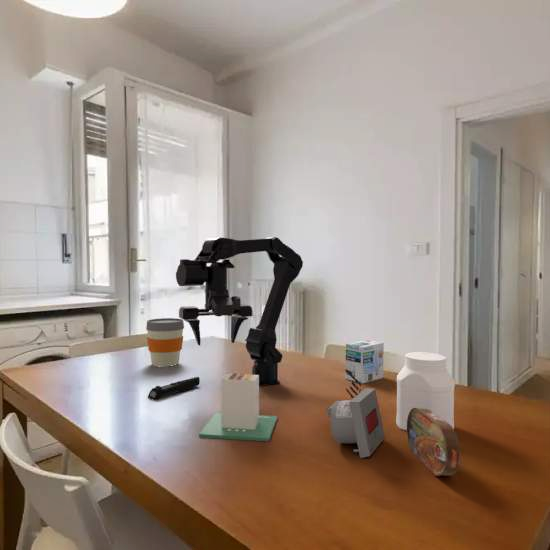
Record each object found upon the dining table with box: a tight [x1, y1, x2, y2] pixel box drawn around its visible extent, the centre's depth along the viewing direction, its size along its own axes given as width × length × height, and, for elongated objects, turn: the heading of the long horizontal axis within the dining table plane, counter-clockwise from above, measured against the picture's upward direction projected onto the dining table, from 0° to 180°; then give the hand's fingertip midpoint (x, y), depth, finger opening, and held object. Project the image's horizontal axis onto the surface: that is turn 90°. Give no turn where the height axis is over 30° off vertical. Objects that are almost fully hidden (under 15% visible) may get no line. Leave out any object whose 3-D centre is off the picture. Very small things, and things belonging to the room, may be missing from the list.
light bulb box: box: [345, 339, 385, 385], centre depth 125 cm, size 11×7×11 cm, turn 131°
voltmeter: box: [326, 368, 386, 459], centre depth 86 cm, size 27×11×10 cm, turn 5°
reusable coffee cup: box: [145, 317, 185, 367], centre depth 142 cm, size 13×13×15 cm
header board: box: [198, 412, 278, 442], centre depth 87 cm, size 12×14×4 cm
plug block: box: [220, 373, 260, 430], centre depth 87 cm, size 4×7×10 cm, turn 82°
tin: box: [406, 408, 461, 477], centre depth 72 cm, size 15×3×8 cm, turn 5°
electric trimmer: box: [147, 376, 201, 401], centre depth 111 cm, size 4×16×3 cm, turn 141°
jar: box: [395, 351, 456, 431], centre depth 88 cm, size 12×10×15 cm
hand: (216, 344), depth 110 cm, fingers open, 9 cm apart
